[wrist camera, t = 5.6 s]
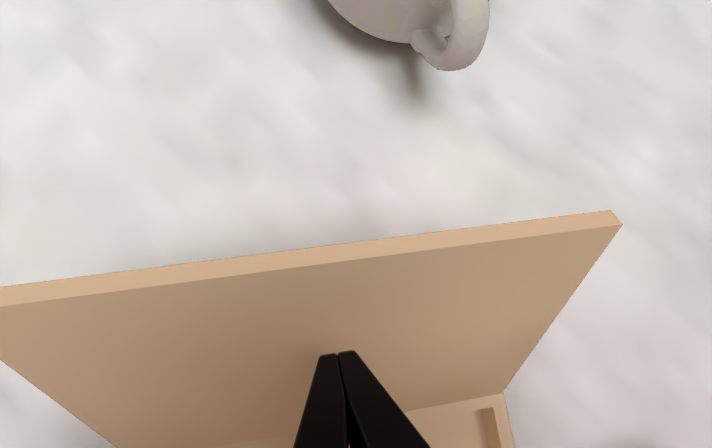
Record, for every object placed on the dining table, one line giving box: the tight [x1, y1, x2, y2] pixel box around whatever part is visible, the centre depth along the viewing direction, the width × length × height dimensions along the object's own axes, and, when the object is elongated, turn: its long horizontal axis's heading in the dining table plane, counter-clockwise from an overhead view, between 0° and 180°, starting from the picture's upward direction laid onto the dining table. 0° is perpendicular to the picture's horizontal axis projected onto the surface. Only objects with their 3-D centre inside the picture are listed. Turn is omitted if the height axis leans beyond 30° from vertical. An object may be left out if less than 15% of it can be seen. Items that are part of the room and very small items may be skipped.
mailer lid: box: [0, 210, 623, 448], centre depth 13 cm, size 11×15×1 cm
